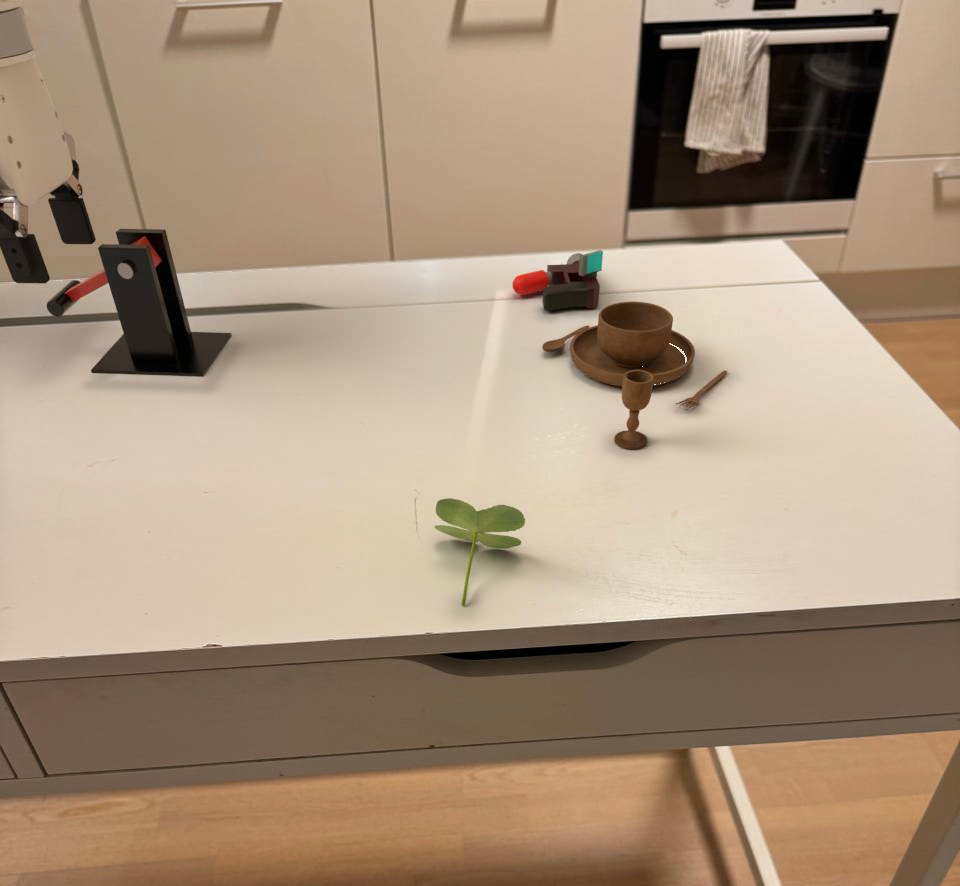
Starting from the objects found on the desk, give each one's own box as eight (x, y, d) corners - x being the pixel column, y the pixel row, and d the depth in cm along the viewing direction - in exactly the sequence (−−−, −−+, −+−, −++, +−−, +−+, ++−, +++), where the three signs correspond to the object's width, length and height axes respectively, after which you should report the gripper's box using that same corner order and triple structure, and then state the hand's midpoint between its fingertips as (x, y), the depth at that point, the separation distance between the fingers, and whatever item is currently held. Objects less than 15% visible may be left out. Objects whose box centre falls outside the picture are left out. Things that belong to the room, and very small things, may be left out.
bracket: (94, 381, 83) (51, 255, 75) (130, 341, 90) (94, 220, 82) (205, 385, 82) (173, 257, 74) (233, 344, 89) (207, 222, 81)
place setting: (741, 365, 84) (754, 305, 80) (643, 455, 72) (652, 389, 68) (586, 322, 92) (590, 265, 88) (474, 397, 80) (473, 335, 76)
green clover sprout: (466, 628, 64) (481, 546, 66) (537, 616, 58) (552, 526, 60) (386, 598, 60) (404, 511, 62) (453, 581, 54) (471, 486, 56)
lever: (58, 323, 82) (39, 300, 80) (80, 302, 85) (63, 279, 84) (148, 275, 78) (130, 249, 76) (167, 254, 81) (150, 230, 80)
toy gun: (589, 270, 102) (592, 227, 99) (605, 312, 94) (610, 266, 90) (507, 273, 102) (508, 230, 99) (516, 315, 93) (517, 269, 90)
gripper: (-11, 21, 75) (60, 230, 87) (-132, 61, 62) (-30, 298, 74) (72, 20, 74) (132, 230, 86) (-33, 60, 62) (54, 299, 73)
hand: (57, 261), depth 80 cm, fingers open, 9 cm apart
